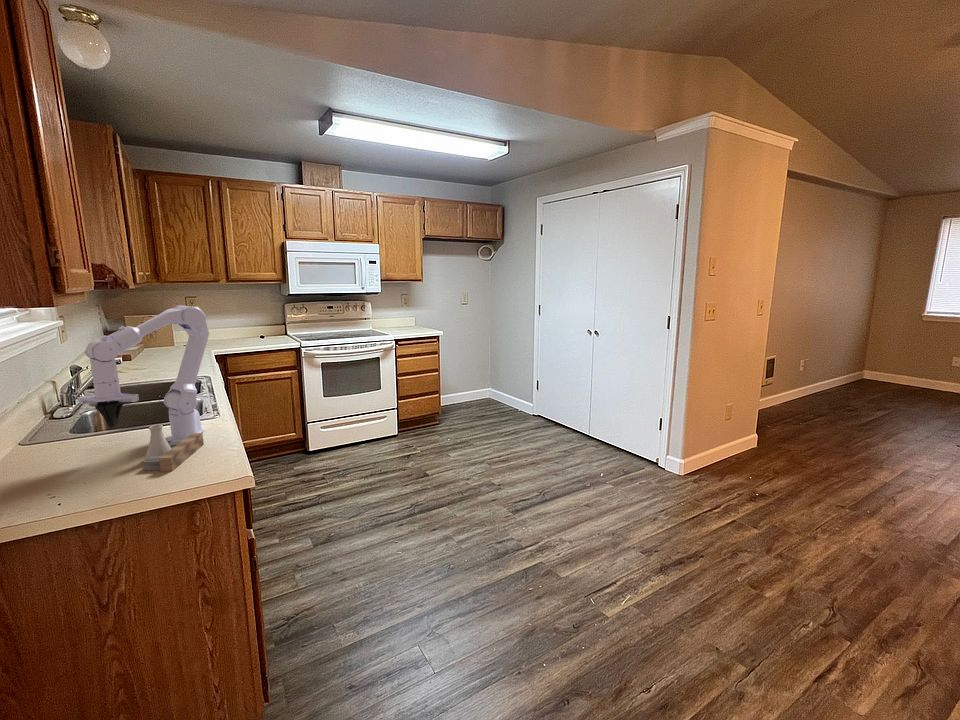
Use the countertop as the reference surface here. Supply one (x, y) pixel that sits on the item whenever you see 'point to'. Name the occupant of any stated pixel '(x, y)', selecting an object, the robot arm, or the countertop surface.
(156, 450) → the flask
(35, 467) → the countertop surface
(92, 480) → the countertop surface
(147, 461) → the spice rail
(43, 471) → the countertop surface
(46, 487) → the countertop surface
